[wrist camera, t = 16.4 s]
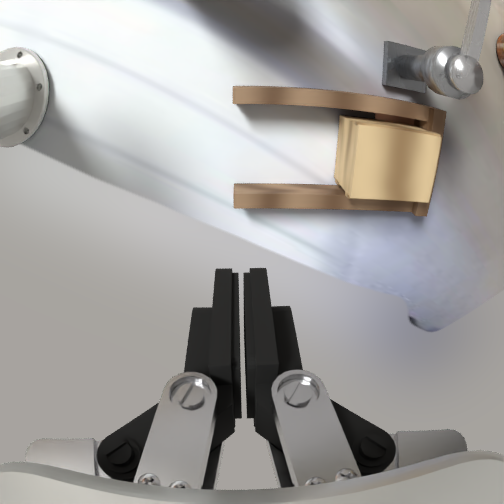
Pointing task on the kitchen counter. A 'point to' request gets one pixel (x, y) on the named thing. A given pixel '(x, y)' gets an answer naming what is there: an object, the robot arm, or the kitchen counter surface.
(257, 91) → the bay
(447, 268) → the kitchen counter surface
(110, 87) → the kitchen counter surface
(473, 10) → the crank
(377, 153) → the tan wooden block
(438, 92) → the winch post
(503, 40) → the sauce bottle
